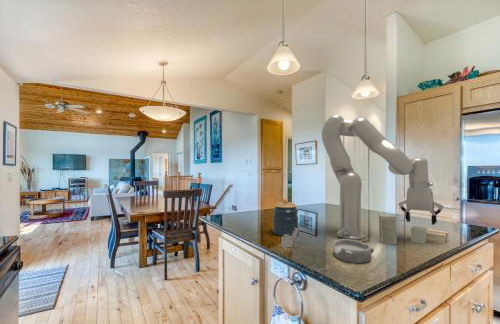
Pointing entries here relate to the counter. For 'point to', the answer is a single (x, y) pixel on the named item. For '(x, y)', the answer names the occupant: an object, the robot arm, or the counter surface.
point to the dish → (352, 250)
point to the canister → (285, 218)
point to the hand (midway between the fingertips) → (420, 222)
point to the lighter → (288, 239)
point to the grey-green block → (418, 234)
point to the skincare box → (387, 229)
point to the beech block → (437, 236)
